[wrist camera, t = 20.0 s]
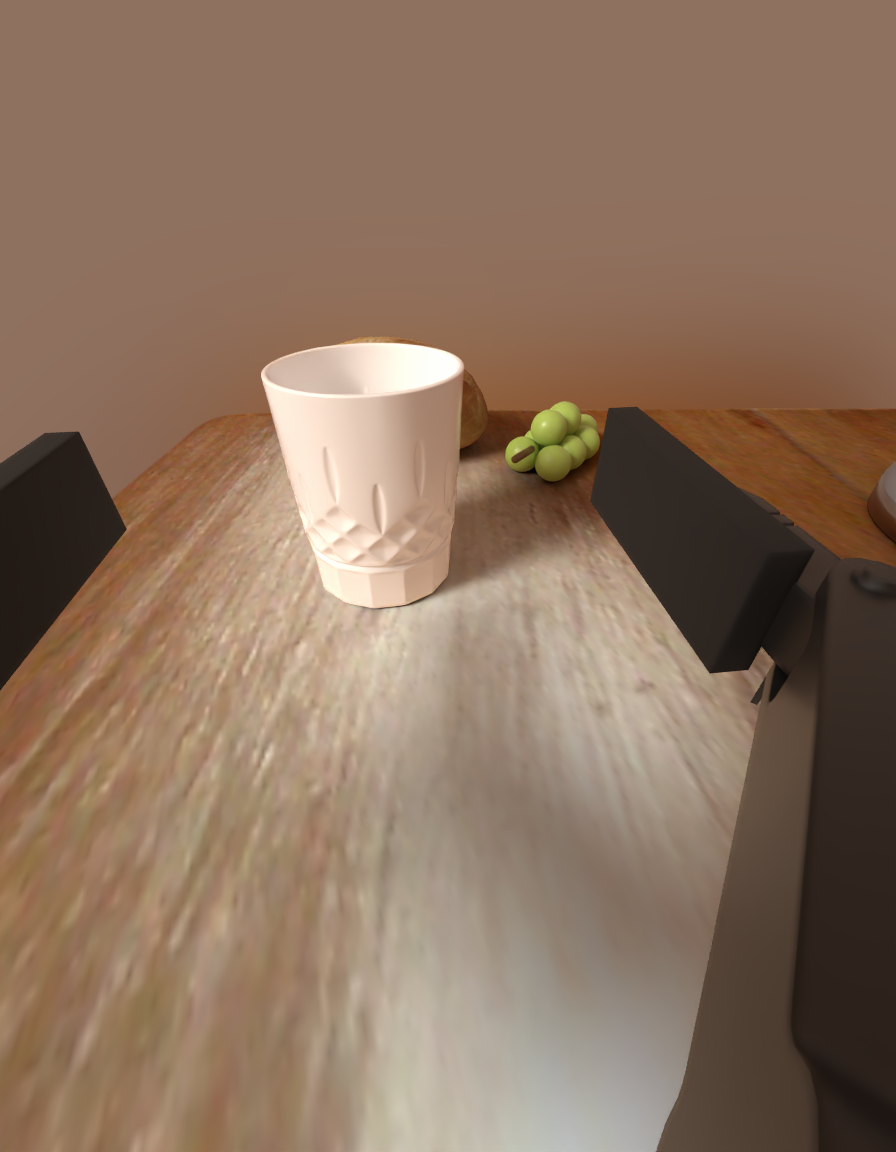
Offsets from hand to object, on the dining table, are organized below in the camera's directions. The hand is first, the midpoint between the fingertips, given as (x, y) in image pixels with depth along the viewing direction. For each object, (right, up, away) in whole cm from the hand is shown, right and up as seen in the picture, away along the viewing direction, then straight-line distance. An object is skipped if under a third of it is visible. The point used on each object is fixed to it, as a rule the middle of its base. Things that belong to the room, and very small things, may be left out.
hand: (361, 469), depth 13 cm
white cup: (-1, -3, +13) cm, 13 cm away
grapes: (+10, +6, +23) cm, 26 cm away
